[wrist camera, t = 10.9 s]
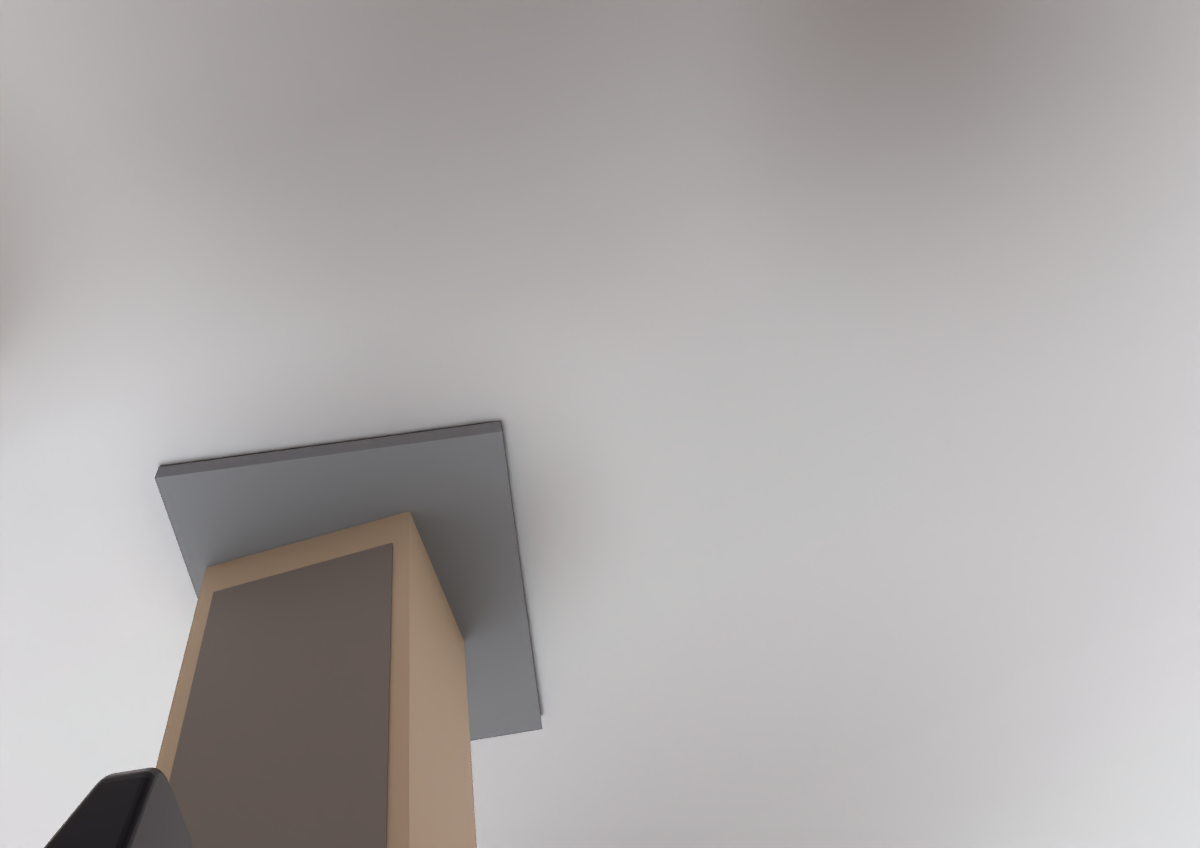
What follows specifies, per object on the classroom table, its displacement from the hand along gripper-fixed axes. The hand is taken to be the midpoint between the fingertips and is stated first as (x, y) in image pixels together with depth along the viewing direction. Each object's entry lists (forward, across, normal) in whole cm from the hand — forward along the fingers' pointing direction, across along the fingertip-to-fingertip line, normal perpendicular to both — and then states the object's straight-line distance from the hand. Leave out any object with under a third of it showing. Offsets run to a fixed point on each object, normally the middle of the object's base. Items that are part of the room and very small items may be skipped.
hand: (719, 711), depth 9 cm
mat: (+13, +5, +10) cm, 17 cm away
